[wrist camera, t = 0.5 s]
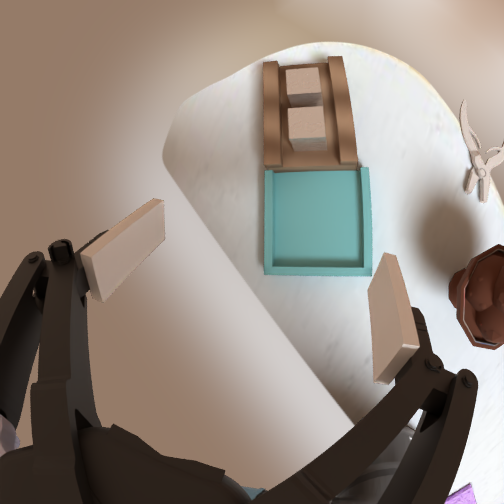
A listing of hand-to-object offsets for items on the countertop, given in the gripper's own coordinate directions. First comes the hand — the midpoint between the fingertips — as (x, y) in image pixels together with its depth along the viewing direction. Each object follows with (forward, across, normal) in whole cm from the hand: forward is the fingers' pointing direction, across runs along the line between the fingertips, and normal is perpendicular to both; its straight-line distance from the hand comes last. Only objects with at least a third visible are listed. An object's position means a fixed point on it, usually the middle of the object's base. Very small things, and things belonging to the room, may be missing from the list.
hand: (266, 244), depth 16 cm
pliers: (+25, -26, -9) cm, 37 cm away
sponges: (-8, -50, +42) cm, 66 cm away
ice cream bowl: (+15, -25, +8) cm, 31 cm away
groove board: (+27, 0, -5) cm, 27 cm away
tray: (+19, -4, +7) cm, 21 cm away
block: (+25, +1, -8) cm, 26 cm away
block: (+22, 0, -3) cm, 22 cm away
